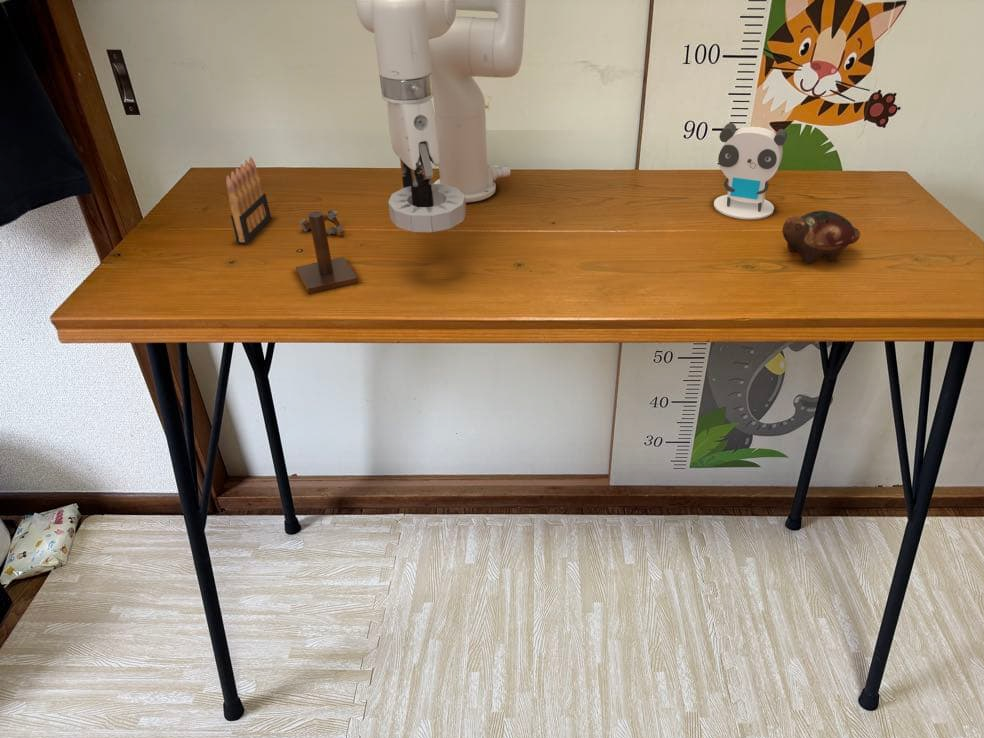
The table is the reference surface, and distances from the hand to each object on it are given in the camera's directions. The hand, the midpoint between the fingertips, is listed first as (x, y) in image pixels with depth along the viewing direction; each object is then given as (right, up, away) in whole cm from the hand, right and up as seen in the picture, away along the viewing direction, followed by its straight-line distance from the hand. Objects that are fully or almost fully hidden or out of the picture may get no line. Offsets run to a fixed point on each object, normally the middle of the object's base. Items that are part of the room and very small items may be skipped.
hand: (418, 202), depth 124 cm
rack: (-15, -12, +1) cm, 19 cm away
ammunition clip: (-32, -1, +15) cm, 35 cm away
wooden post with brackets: (-19, -2, +15) cm, 24 cm away
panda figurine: (+59, +6, +25) cm, 64 cm away
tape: (+2, -3, -3) cm, 4 cm away
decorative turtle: (+67, -7, +9) cm, 68 cm away
